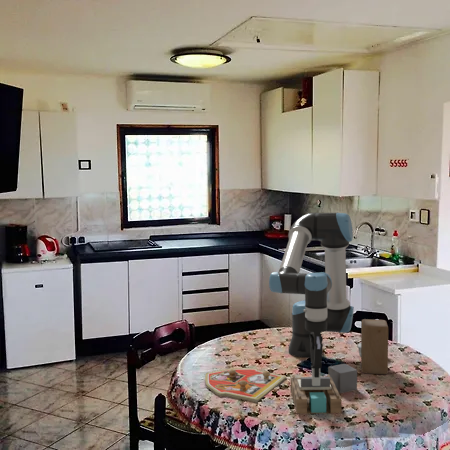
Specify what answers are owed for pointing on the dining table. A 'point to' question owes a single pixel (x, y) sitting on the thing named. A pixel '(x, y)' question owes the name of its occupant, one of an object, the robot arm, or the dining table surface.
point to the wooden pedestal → (303, 398)
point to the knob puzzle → (242, 383)
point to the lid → (306, 384)
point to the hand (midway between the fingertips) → (316, 384)
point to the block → (317, 402)
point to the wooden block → (374, 346)
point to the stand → (343, 377)
